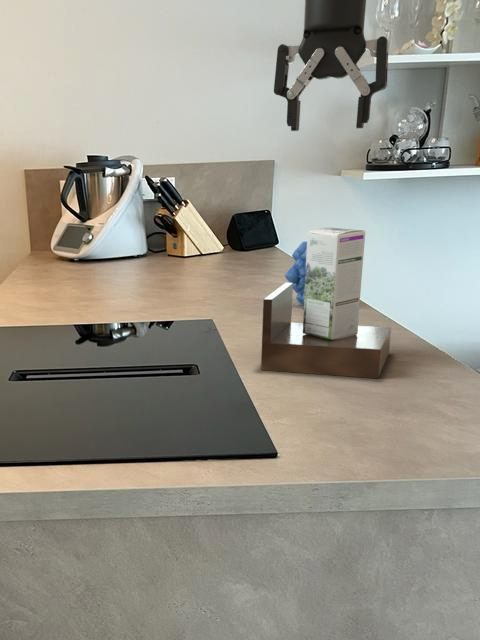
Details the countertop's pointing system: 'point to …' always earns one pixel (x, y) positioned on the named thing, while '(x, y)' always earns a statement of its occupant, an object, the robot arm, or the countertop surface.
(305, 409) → the countertop surface
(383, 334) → the metal l-shaped bookend
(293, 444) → the countertop surface
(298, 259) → the grapes
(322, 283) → the syrup box
